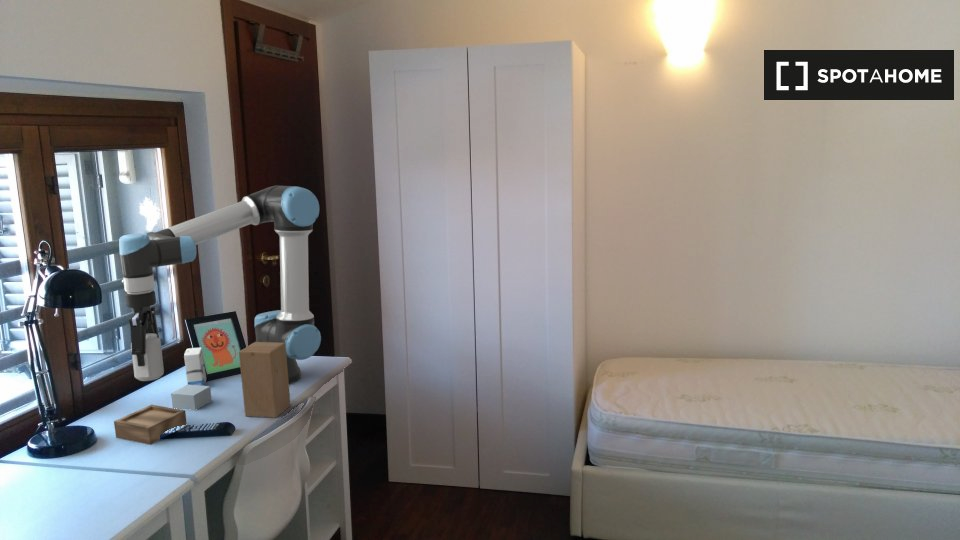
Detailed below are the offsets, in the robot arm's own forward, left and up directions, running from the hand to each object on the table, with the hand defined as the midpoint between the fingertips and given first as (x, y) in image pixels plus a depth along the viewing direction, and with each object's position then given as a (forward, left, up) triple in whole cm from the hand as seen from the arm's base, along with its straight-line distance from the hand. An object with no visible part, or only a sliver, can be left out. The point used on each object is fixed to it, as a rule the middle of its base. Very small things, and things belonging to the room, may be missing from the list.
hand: (149, 371), depth 207 cm
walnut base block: (+1, -1, -18) cm, 18 cm away
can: (0, 0, -2) cm, 2 cm away
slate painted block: (-19, -6, -18) cm, 27 cm away
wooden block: (-23, +20, -18) cm, 36 cm away
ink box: (-33, -18, -18) cm, 42 cm away
